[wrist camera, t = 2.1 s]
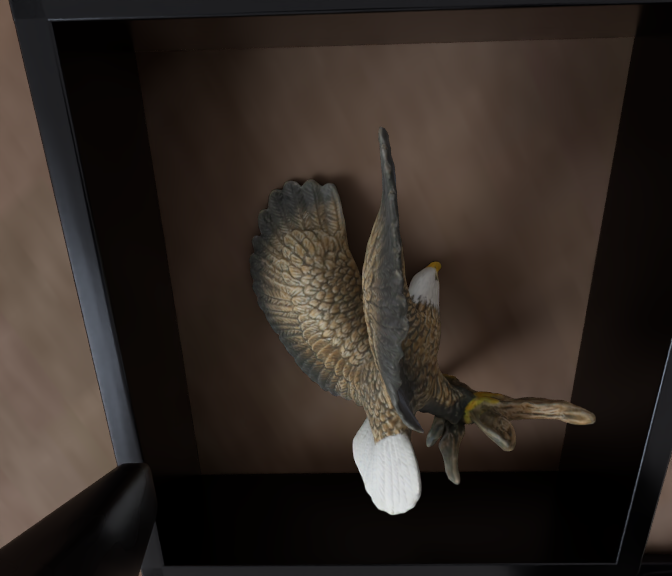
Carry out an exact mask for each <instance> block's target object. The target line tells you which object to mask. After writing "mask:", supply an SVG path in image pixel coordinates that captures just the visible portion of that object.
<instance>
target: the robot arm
mask: <svg viewBox="0 0 672 576" xmlns="http://www.w3.org/2000/svg"><path fill="white" fill-rule="evenodd" d="M157 508H158V504H157V497H156V492H155V487H154V482H153V477H152V472H151V469H150V467H149V465H148V464H146V463H124V464H121V465H119V466H118V467H116V468H115V469H113V470H112V471H110V472H109V473H108V474H106V475H105V476H103V477H102V478H100V479H99V480H98V481H96V482H95V483H93V484H92V485H90V486H89V487H88V488H86V489H85V490H83V491H82V492H80V493H79V494H78V495H76V496H75V497H73V498H72V499H70V500H69V501H68V502H66V503H65V504H63V505H62V506H60V507H59V508H58V509H56V510H55V511H53V512H52V513H51V514H49V515H48V516H46V517H45V518H43V519H42V520H41V521H39V522H38V523H36V524H35V525H33V526H32V527H31V528H29V529H28V530H26V531H25V532H23V533H22V534H21V535H19V536H18V537H16V538H15V539H13V540H12V541H11V542H9V543H8V544H6V545H5V546H3V547H2V548H1V549H0V576H138V575H139V572H140V569H141V566H142V562H143V559H144V556H145V552H146V549H147V546H148V543H149V539H150V536H151V533H152V529H153V526H154V523H155V520H156V516H157ZM638 576H672V555H643V559H642V562H641V567H640V570H639V574H638Z"/></svg>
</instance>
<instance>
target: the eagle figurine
mask: <svg viewBox="0 0 672 576" xmlns="http://www.w3.org/2000/svg"><path fill="white" fill-rule="evenodd" d="M378 135H379V143H380V158H381V169H382V183H383V193H382V200H381V206H380V210H379V213H378V215H377V218H376V220H375V223H374V226H373V229H372V232H371V235H370V239H369V241H368V244H367V249H366V255H365V261H364V265H363V269H362V276H361V274H360V272H359V270H358V268H357V265H356V263H355V261H354V259H353V257H352V255H351V252H350V249H349V246H348V242H347V234H346V227H345V219H344V216H343V212H342V205H341V200H340V197H339V194H338V192H337V188H336V186H335V185H334V184H332V183H327V184H325V185H324V186H321V185H320V184H319V183H317V182H316V181H315V180H313V179H309V180H308V181H306V182H305V183H304V184H303V185H302V186H300V185H299V184H298V183H297V182H294V181H287V182H285V184H284V186H283V190H279V189H275V190H273V191H272V192H271V193H270V195H269V205H268V209H266V210H265V209H263V210H261V211H260V213H259V216H258V225H259V229H260V232H261V235H260V236H254V237H253V239H252V244H253V247H254V253H252V254H251V256H250V259H249V262H250V265H251V268H250V273H251V277H252V279H253V280H254V282H253V285H252V288H253V290H254V292H255V294H256V295H257V297H258V301H257V303H258V305H259V307H260V309H261V310H262V311H263V312H264V313H265V315H266V319H267V320H268V322H269V323H270V326H271V327H272V329H273V330H274V331H275V332H276V333H277V334H279V339H280V341H281V342H282V343H283V344H284V346H285V348H286V350H287V351H288V353H289V354H290V355H292V356H293V357H294V359H295V362H296V364H297V365H298V366H299V367H300V368H301V370H302V371H303V372H304V373H305V374H307V375H308V376H309V378H310V379H311V380H312V381H313V382H316V383H318V384H319V385H320V387H321V388H322V389H323V390H324V391H329V392H330V393H331V394H332V395H334V396H341V397H342V398H344V399H346V400H353V401H354V402H355V403H356V404H357V405H358V406H363V407H364V410H365V412H366V414H367V418H366V420H365V421H364V423H363V425H362V426H361V428H360V429H359V431H358V432H357V434H356V436H355V437H354V439H353V455H354V460H355V463H356V465H357V467H358V469H359V472H360V474H361V476H362V479H363V481H364V485H365V489H366V491H367V493H368V494H369V495H370V496H371V497H372V501H373V503H374V504H375V505H376V507H377V508H378V509H379V510H382V511H385V512H387V513H389V514H390V515H395V514H400V513H405V512H407V511H408V510H410V509H412V508H414V506H415V505H416V503H417V501H418V500H419V498H420V496H421V477H420V470H419V466H418V461H417V458H416V455H415V452H414V448H413V446H412V443H411V432H412V430H414V431H417V432H418V433H424V430H423V429H422V427H421V425H420V424H419V422H418V420H417V419H416V417H415V414H416V412H417V411H420V412H423V413H430V414H433V415H435V417H434V421H433V424H432V427H431V429H430V431H429V433H428V435H427V440H426V445H427V447H431V446H433V445H434V444H435V443H436V441H437V440H438V438H440V437H441V436H442V437H441V439H440V441H439V445H438V446H439V449H440V451H441V453H442V455H443V459H444V463H445V470H446V473H447V476H448V478H449V479H450V480H451V481H452V482H453V483H454V484H457V485H458V484H459V483H460V474H459V470H458V453H459V447H460V443H461V440H462V438H463V436H464V434H465V424H473V423H475V424H476V425H477V426H478V427H479V428H480V429H481V430H482V431H483V432H484V433H485V434H486V435H487V436H488V437H489V438H490V439H491V440H492V441H493V442H495V443H496V444H497V445H498V446H499V447H500V448H502V449H503V450H504V451H512V450H513V449H514V447H515V445H516V435H515V430H514V428H513V426H512V424H511V423H510V421H512V420H521V419H557V420H561V421H563V422H566V423H571V424H578V425H587V424H593V423H594V422H595V420H596V417H595V415H594V414H593V413H591V412H589V411H588V410H586V409H584V408H581V407H579V406H576V405H574V404H572V403H569V402H567V401H564V400H550V399H545V398H533V397H526V398H519V399H513V398H511V397H508V396H505V395H502V394H498V393H494V394H493V393H491V392H478V391H474V390H472V389H471V388H470V387H468V386H467V385H466V384H464V383H461V382H460V381H459V380H458V379H457V378H456V377H455V376H452V375H448V374H442V373H441V371H440V369H439V367H438V363H437V353H438V350H439V344H440V335H441V322H440V318H439V315H440V312H439V279H438V271H439V270H440V269H441V264H440V263H439V262H432V263H430V264H429V265H428V266H427V267H426V268H424V269H423V270H421V271H420V272H418V273H417V274H416V275H414V277H413V278H412V280H411V283H410V286H409V289H408V287H407V283H406V277H405V264H404V255H403V246H402V240H401V236H400V232H399V214H398V204H397V190H396V176H395V167H394V163H393V159H392V156H391V147H390V143H389V135H388V133H387V131H386V130H385V128H383V127H379V133H378Z"/></svg>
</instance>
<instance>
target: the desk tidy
mask: <svg viewBox="0 0 672 576" xmlns="http://www.w3.org/2000/svg"><path fill="white" fill-rule="evenodd" d="M9 4H10V8H11V13H12V17H13V20H14V24H15V28H16V32H17V36H18V41H19V45H20V49H21V54H22V58H23V62H24V67H25V71H26V75H27V79H28V84H29V88H30V92H31V97H32V101H33V105H34V110H35V114H36V118H37V122H38V127H39V131H40V135H41V140H42V144H43V148H44V153H45V157H46V161H47V165H48V170H49V174H50V178H51V183H52V187H53V191H54V196H55V200H56V204H57V208H58V213H59V217H60V221H61V226H62V230H63V234H64V239H65V243H66V247H67V251H68V256H69V260H70V264H71V269H72V273H73V277H74V282H75V286H76V290H77V295H78V299H79V303H80V307H81V312H82V316H83V320H84V325H85V329H86V333H87V338H88V342H89V346H90V350H91V355H92V359H93V363H94V368H95V372H96V376H97V381H98V385H99V389H100V393H101V398H102V402H103V406H104V411H105V415H106V419H107V424H108V428H109V432H110V436H111V441H112V445H113V449H114V454H115V458H116V462H117V467H118V466H119V465H121V464H124V463H146V464H148V465H149V467H150V469H151V472H152V477H153V482H154V487H155V492H156V497H157V504H158V508H157V516H156V520H155V523H154V526H153V529H152V533H151V536H150V539H149V543H148V546H147V549H146V552H145V556H144V559H143V562H142V566H141V572H142V576H638V574H639V570H640V567H641V562H642V559H643V555H644V551H645V548H646V544H647V541H648V537H649V533H650V530H651V526H652V522H653V519H654V515H655V512H656V508H657V504H658V501H659V497H660V494H661V490H662V486H663V483H664V479H665V475H666V472H667V468H668V465H669V461H670V457H671V454H672V0H9ZM619 37H635V38H634V44H633V49H632V55H631V61H630V67H629V72H628V78H627V84H626V89H625V95H624V101H623V106H622V112H621V118H620V123H619V129H618V135H617V141H616V146H615V152H614V158H613V163H612V169H611V175H610V180H609V186H608V192H607V198H606V203H605V209H604V215H603V220H602V226H601V232H600V237H599V243H598V249H597V254H596V260H595V266H594V272H593V277H592V283H591V289H590V294H589V300H588V306H587V311H586V317H585V323H584V329H583V334H582V340H581V346H580V351H579V357H578V363H577V368H576V374H575V380H574V385H573V391H572V397H571V403H572V404H574V405H576V406H579V407H581V408H584V409H586V410H588V411H589V412H591V413H593V414H594V415H595V417H596V420H595V422H594V423H593V424H587V425H578V424H571V423H567V425H566V431H565V437H564V442H563V448H562V454H561V459H560V465H559V471H529V472H459V474H460V483H459V484H458V485H457V484H454V483H453V482H452V481H451V480H450V479H449V478H448V476H447V473H446V472H431V473H420V477H421V496H420V498H419V500H418V501H417V503H416V505H415V506H414V508H412V509H410V510H408V511H407V512H405V513H400V514H395V515H390V514H389V513H387V512H385V511H382V510H379V509H378V508H377V507H376V505H375V504H374V503H373V501H372V497H371V496H370V495H369V494H368V493H367V491H366V489H365V485H364V481H363V479H362V476H361V474H360V473H332V474H233V475H201V472H200V466H199V459H198V453H197V447H196V440H195V434H194V428H193V421H192V415H191V408H190V402H189V396H188V389H187V383H186V376H185V370H184V364H183V357H182V351H181V345H180V338H179V332H178V325H177V319H176V313H175V306H174V300H173V293H172V287H171V281H170V274H169V268H168V262H167V255H166V249H165V242H164V236H163V230H162V223H161V217H160V210H159V204H158V198H157V191H156V185H155V179H154V172H153V166H152V159H151V153H150V147H149V140H148V134H147V127H146V121H145V115H144V108H143V102H142V96H141V89H140V83H139V76H138V70H137V64H136V57H135V52H152V51H185V50H219V49H252V48H285V47H319V46H352V45H385V44H419V43H452V42H485V41H519V40H552V39H585V38H619Z"/></svg>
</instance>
